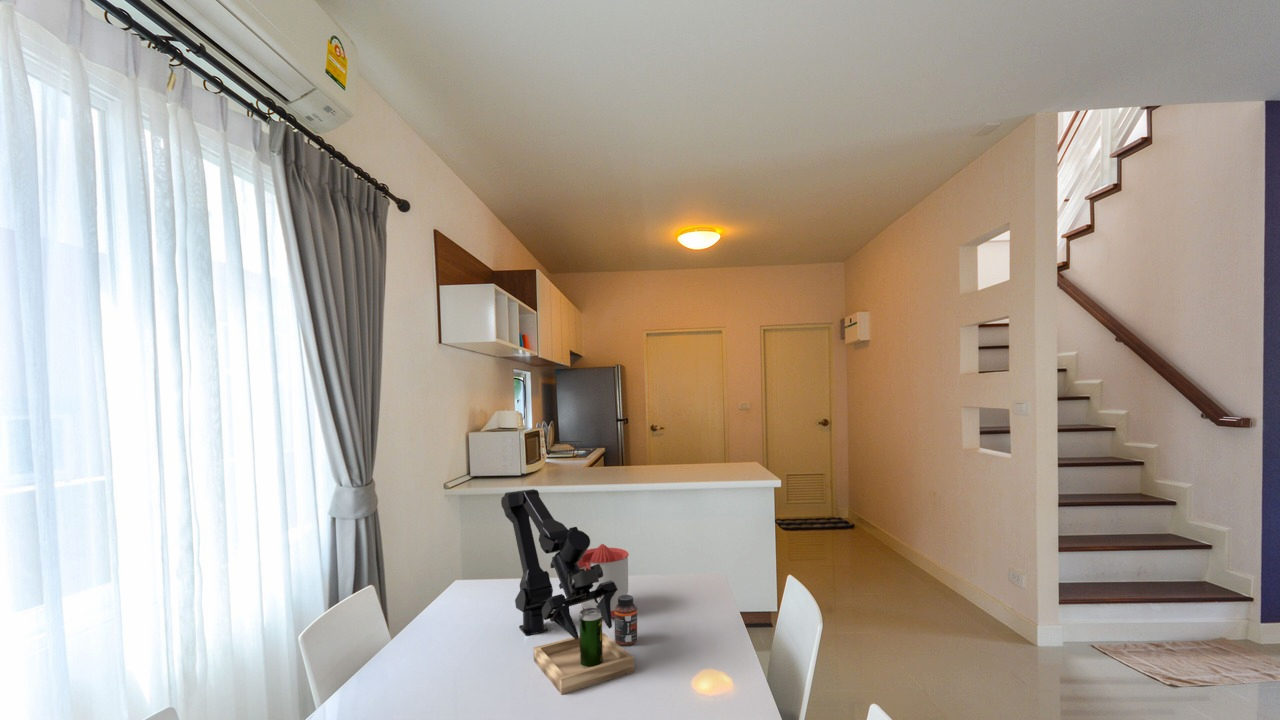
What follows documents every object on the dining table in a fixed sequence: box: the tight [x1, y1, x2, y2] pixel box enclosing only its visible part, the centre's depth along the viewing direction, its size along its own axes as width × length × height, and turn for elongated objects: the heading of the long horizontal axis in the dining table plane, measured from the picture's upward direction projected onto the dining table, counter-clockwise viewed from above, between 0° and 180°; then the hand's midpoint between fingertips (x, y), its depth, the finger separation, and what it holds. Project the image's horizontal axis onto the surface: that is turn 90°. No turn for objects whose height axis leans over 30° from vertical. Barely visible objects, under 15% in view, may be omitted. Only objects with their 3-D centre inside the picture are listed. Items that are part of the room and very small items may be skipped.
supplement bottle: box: [614, 594, 638, 647], centre depth 141 cm, size 6×6×11 cm
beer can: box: [578, 608, 603, 669], centre depth 127 cm, size 5×5×12 cm
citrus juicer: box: [578, 543, 630, 619], centre depth 161 cm, size 16×17×20 cm
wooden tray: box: [533, 631, 635, 695], centre depth 128 cm, size 18×18×3 cm
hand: (594, 632), depth 126 cm, fingers open, 9 cm apart
